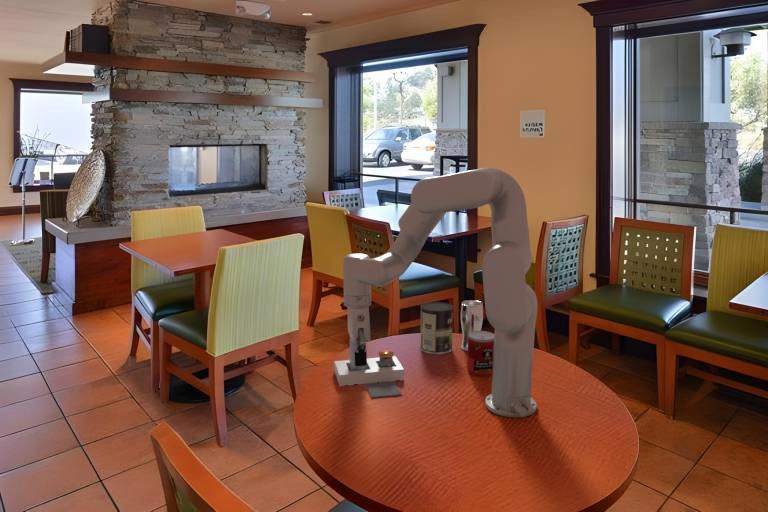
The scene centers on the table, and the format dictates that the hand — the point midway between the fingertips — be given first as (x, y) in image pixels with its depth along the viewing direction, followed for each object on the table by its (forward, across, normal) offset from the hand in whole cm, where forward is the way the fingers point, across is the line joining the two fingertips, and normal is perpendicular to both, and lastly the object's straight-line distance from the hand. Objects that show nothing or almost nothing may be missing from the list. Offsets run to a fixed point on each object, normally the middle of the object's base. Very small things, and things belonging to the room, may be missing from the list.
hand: (358, 359), depth 158 cm
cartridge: (+5, 0, 0) cm, 5 cm away
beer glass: (+5, +14, -39) cm, 42 cm away
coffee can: (+5, +16, -28) cm, 33 cm away
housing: (+5, 0, -3) cm, 6 cm away
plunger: (+5, 0, -8) cm, 9 cm away
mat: (+5, -10, -5) cm, 12 cm away
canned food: (+5, -4, -35) cm, 36 cm away
